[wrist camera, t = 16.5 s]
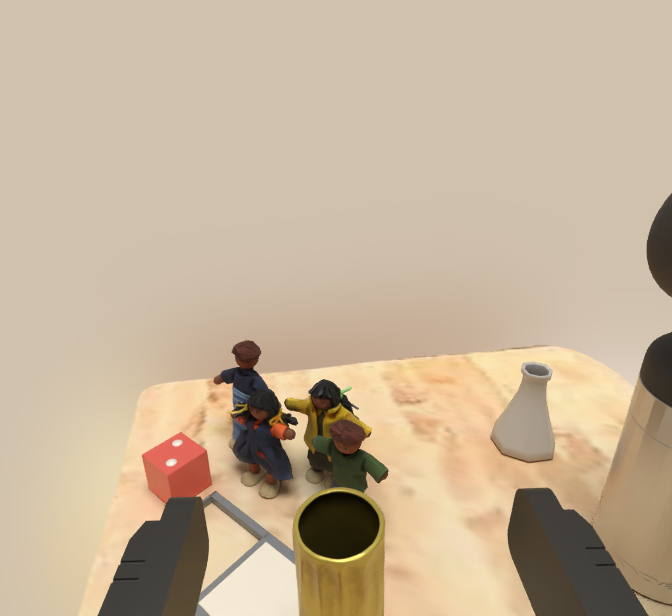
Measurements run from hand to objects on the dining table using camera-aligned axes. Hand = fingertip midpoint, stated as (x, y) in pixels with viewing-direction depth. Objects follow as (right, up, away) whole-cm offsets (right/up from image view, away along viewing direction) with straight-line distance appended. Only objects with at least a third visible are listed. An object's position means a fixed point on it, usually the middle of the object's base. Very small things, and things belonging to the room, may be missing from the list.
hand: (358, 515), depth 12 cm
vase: (0, -20, +21) cm, 29 cm away
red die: (-17, -13, +37) cm, 43 cm away
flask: (+21, -11, +44) cm, 50 cm away
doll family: (-5, -13, +39) cm, 41 cm away
